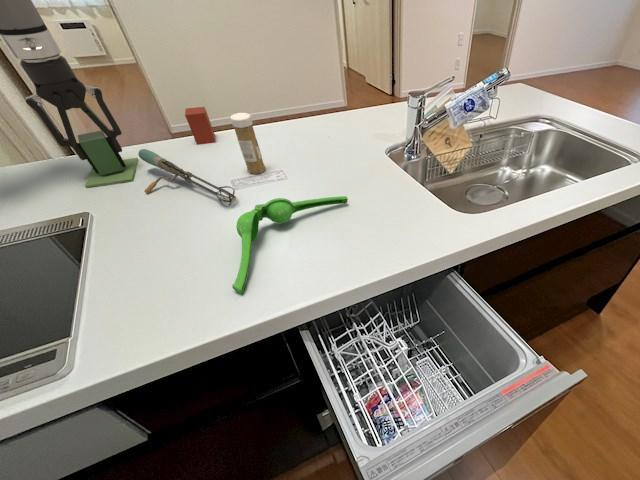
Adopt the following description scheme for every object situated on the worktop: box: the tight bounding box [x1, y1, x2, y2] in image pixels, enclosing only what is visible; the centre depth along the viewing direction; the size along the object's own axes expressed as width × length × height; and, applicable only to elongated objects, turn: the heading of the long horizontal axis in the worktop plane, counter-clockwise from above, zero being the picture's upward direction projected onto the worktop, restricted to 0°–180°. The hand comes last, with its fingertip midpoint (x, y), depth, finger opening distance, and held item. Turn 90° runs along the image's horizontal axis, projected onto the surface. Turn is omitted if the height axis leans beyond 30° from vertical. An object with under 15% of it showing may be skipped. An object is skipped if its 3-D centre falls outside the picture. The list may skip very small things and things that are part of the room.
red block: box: [184, 106, 216, 145], centre depth 99 cm, size 5×5×8 cm
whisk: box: [138, 148, 237, 208], centre depth 81 cm, size 11×32×7 cm, turn 58°
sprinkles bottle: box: [230, 112, 266, 175], centre depth 85 cm, size 5×5×13 cm
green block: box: [77, 129, 124, 175], centre depth 84 cm, size 5×5×8 cm
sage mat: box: [84, 157, 139, 189], centre depth 87 cm, size 12×10×1 cm
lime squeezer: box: [232, 195, 349, 295], centre depth 70 cm, size 34×12×6 cm, turn 151°
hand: (110, 167), depth 87 cm, fingers closed on green block, 5 cm apart
